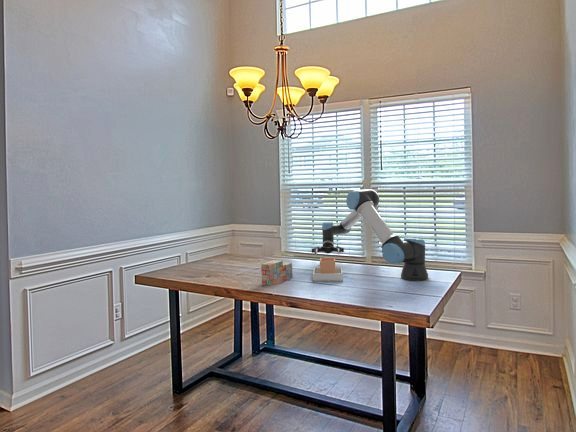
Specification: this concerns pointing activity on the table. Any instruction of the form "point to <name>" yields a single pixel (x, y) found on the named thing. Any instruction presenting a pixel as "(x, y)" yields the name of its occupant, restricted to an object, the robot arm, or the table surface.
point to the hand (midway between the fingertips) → (327, 252)
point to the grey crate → (327, 275)
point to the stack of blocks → (275, 272)
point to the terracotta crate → (327, 265)
